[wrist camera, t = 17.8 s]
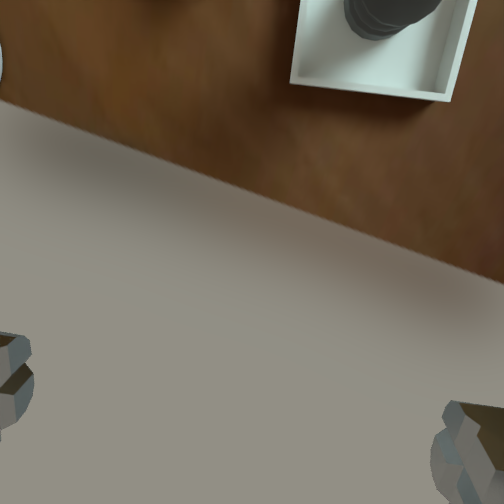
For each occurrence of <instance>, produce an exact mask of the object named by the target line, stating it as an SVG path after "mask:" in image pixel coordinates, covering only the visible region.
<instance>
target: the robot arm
mask: <svg viewBox="0 0 504 504" xmlns="http://www.w3.org/2000/svg"><path fill="white" fill-rule="evenodd" d="M1 75H2V52H1V46H0V80H1ZM31 355H32V353H31V347H30V340H29V339H27V338H26V337H25V336H23V335H17V334H12V333H6V332H0V441H1V430H2V429H4V428H6V427H8V426H10V425H12V424H14V423H16V422H17V421H18V420H19V419H20V417H21V416H22V415H23V414H24V412H25V411H26V409H27V407H28V405H29V403H30V400H31V398H32V396H33V389H34V374H33V372H32V371H31V370H30V368H29V367H28V366H27V365H26V363H25V362H26V361H27V360H28V358H29V357H30V356H31ZM442 419H443V421H444V423H445V425H446V427H447V428H445V429H444V430H442V431H441V432H439V433H438V434H436V435H435V438H434V441H433V444H432V447H431V461H430V463H431V464H430V465H431V471H432V477H433V480H434V482H435V485H436V488H437V490H438V491H439V492H440V493H441V494H442V495H443V496H444V497H445V498H446V499H447V500H448V501H449V504H504V408H500V407H493V406H487V405H479V404H472V403H466V402H459V401H452V400H451V401H450V402H449V403H448V404H447V406H446V407H445V410H444V412H443V415H442Z"/></svg>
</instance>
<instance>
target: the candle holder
mask: <svg viewBox="0 0 504 504" xmlns="http://www.w3.org/2000/svg"><path fill="white" fill-rule="evenodd" d="M441 1H442V0H344V12H345V18H346V20H347V22H348V24H349V26H350V28H351V30H352V31H354V32H355V33H356V34H357V35H359V36H360V37H361V38H363V39H368V40H373V41H378V40H382V39H387V38H390V37H392V36H394V35H396V34H397V33H399V32H400V31H402V30H403V29H405V28H406V27H408V26H409V25H411V24H415V23H417V22H419V21H420V20H422V19H423V18H425V17H426V16H427V15H429V14H430V13H432V12H433V11H434V10H435V9H436V8H437V6H438V5H439V4H440V2H441Z"/></svg>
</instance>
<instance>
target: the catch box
mask: <svg viewBox="0 0 504 504" xmlns="http://www.w3.org/2000/svg"><path fill="white" fill-rule="evenodd" d="M476 4H477V0H442V1H441V2H440V4H439V5H438V6H437V8H436V9H435V10H434V11H433V12H432V13H430V14H429V15H427V16H426V17H425V18H423V19H422V20H420V21H419V22H417V23H415V24H411V25H409V26H408V27H406V28H405V29H403V30H402V31H400V32H399V33H397V34H396V35H394V36H392V37H390V38H387V39H382V40H378V41H373V40H368V39H363V38H361V37H360V36H359V35H357V34H356V33H355V32H354V31H352V30H351V28H350V26H349V24H348V22H347V20H346V18H345V12H344V0H301V2H300V9H299V16H298V24H297V31H296V39H295V46H294V54H293V61H292V68H291V76H290V84H295V85H303V86H312V87H320V88H328V89H337V90H345V91H354V92H362V93H370V94H379V95H387V96H395V97H404V98H412V99H420V100H429V101H440V102H450V100H451V97H452V93H453V89H454V85H455V82H456V78H457V74H458V71H459V67H460V63H461V59H462V56H463V52H464V48H465V45H466V41H467V37H468V33H469V30H470V26H471V22H472V19H473V15H474V11H475V7H476Z"/></svg>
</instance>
